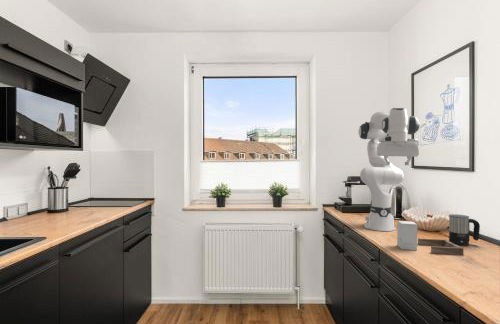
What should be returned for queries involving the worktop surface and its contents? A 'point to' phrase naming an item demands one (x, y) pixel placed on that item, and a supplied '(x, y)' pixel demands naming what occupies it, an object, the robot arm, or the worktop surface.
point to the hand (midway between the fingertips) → (397, 165)
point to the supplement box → (407, 235)
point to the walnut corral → (448, 248)
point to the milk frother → (462, 229)
